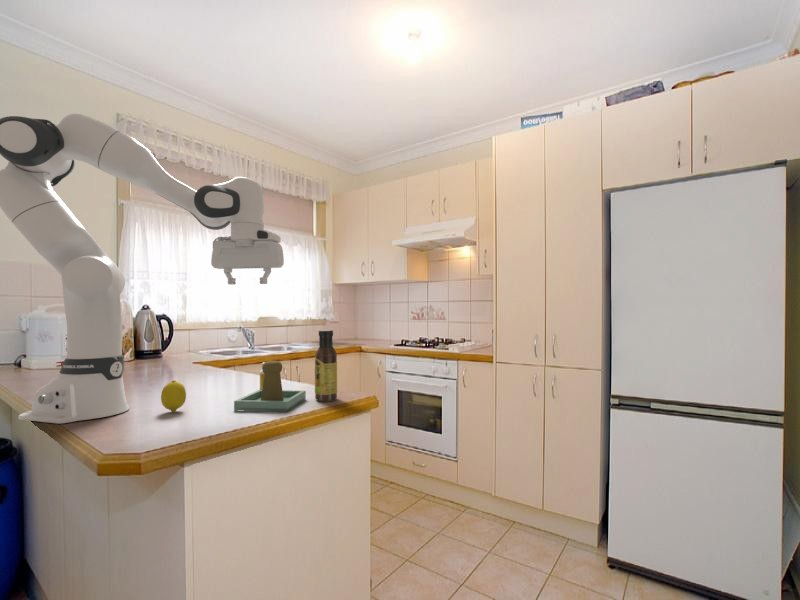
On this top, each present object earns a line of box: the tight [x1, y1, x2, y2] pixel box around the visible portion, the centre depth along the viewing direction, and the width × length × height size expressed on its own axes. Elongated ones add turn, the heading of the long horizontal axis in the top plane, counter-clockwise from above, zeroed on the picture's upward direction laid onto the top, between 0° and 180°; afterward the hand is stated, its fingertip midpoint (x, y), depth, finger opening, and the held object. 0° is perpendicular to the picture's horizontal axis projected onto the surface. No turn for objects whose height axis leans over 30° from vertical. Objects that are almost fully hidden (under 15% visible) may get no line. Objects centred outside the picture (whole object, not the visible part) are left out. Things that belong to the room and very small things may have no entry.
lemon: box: [160, 379, 187, 413], centre depth 102 cm, size 6×6×8 cm
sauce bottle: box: [314, 329, 338, 403], centre depth 114 cm, size 6×6×20 cm
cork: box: [261, 360, 284, 401], centre depth 109 cm, size 6×6×11 cm
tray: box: [233, 389, 307, 413], centre depth 108 cm, size 14×14×2 cm
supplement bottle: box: [259, 361, 266, 390], centre depth 123 cm, size 5×5×10 cm
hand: (247, 284), depth 114 cm, fingers open, 8 cm apart
